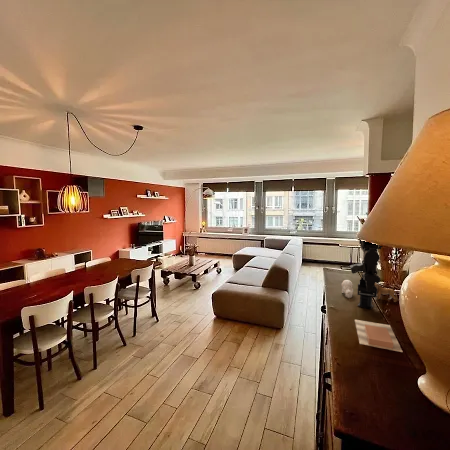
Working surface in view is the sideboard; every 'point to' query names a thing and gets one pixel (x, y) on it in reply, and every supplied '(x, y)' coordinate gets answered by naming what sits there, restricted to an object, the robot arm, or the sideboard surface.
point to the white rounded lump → (347, 288)
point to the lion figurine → (385, 292)
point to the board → (361, 326)
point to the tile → (378, 336)
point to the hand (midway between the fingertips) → (368, 291)
